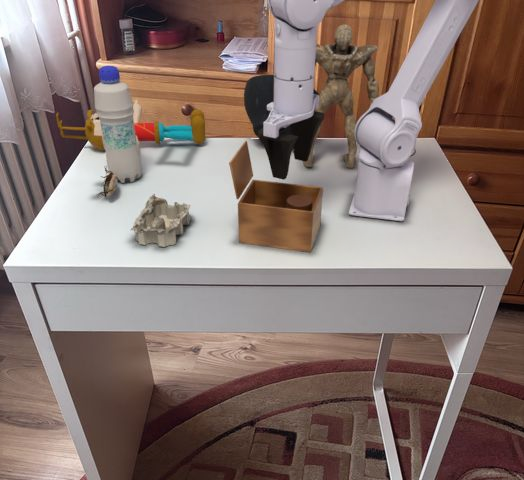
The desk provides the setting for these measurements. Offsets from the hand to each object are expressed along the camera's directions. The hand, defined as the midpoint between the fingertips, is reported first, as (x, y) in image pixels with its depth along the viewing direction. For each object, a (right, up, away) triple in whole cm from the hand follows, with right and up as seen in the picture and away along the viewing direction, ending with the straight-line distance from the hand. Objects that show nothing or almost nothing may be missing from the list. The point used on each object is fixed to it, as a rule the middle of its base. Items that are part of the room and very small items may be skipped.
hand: (290, 168), depth 86 cm
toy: (-17, +19, +32) cm, 40 cm away
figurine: (+9, +10, +26) cm, 30 cm away
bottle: (-31, +5, +20) cm, 37 cm away
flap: (-8, -1, -1) cm, 8 cm away
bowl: (-2, +16, +28) cm, 32 cm away
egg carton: (-21, -9, +5) cm, 23 cm away
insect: (-34, +2, +13) cm, 37 cm away
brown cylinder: (+1, -10, +3) cm, 10 cm away
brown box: (-1, -9, +4) cm, 10 cm away
